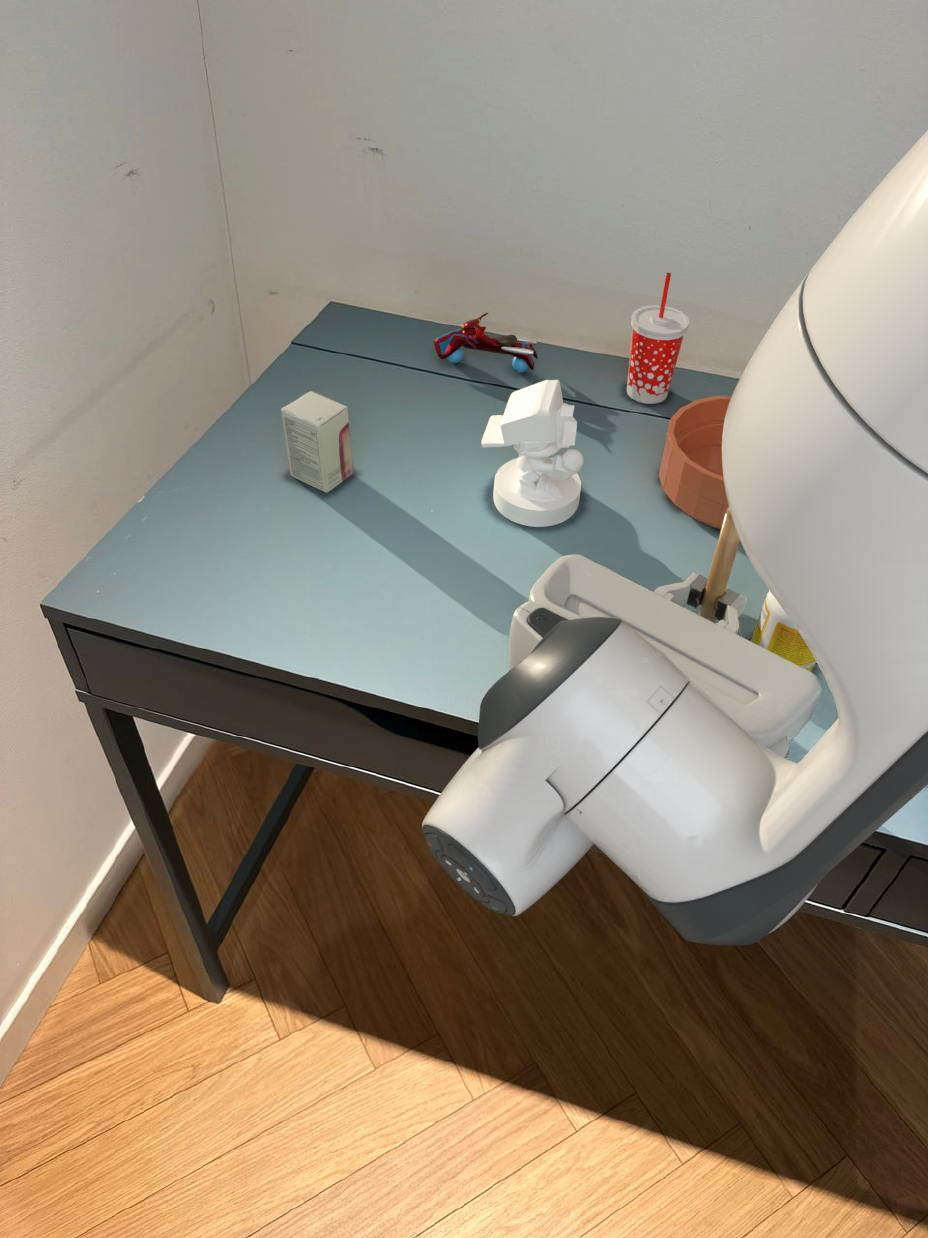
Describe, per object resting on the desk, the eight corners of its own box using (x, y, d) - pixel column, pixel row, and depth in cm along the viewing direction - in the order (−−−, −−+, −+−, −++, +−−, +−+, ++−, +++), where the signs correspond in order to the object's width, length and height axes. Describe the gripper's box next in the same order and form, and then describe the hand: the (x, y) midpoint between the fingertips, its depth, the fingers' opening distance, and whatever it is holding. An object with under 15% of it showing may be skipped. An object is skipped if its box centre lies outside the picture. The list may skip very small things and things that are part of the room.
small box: (355, 473, 96) (350, 406, 91) (326, 495, 94) (319, 426, 88) (317, 455, 98) (310, 388, 93) (288, 475, 96) (279, 407, 90)
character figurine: (572, 533, 91) (586, 425, 82) (474, 517, 92) (478, 409, 84) (584, 478, 97) (599, 372, 88) (492, 464, 98) (497, 359, 90)
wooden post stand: (730, 682, 77) (790, 499, 64) (704, 724, 74) (761, 541, 61) (671, 655, 79) (717, 472, 66) (643, 695, 76) (686, 512, 63)
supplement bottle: (733, 650, 80) (761, 565, 74) (783, 631, 82) (815, 546, 75) (774, 695, 77) (807, 610, 70) (826, 674, 79) (863, 589, 72)
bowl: (833, 477, 98) (851, 428, 94) (780, 559, 89) (797, 508, 85) (695, 428, 104) (706, 379, 99) (632, 500, 94) (641, 449, 90)
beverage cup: (673, 410, 106) (698, 290, 96) (617, 403, 107) (636, 283, 97) (675, 381, 110) (699, 263, 100) (622, 374, 111) (641, 257, 101)
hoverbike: (439, 347, 114) (439, 303, 110) (538, 362, 112) (542, 317, 108) (428, 369, 111) (428, 325, 107) (530, 385, 109) (534, 340, 105)
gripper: (777, 758, 55) (870, 626, 63) (494, 600, 64) (606, 501, 72) (751, 819, 60) (841, 689, 67) (490, 663, 68) (596, 564, 76)
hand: (718, 591), depth 70 cm, fingers closed on wooden post stand
